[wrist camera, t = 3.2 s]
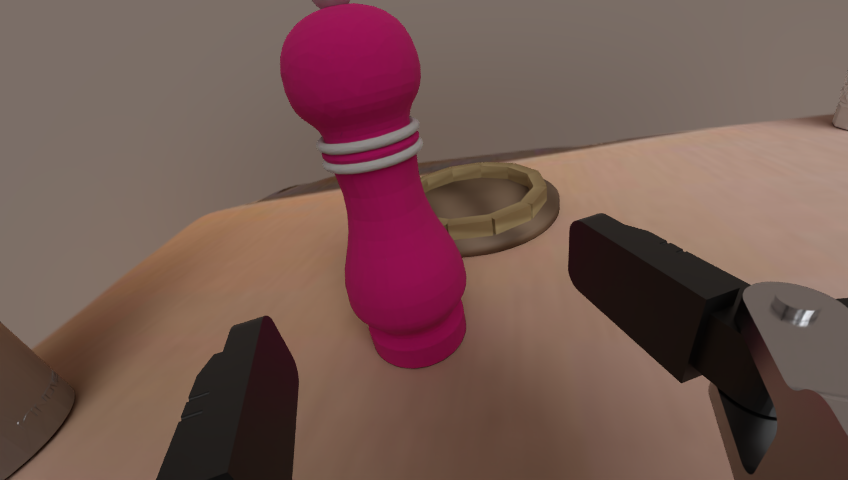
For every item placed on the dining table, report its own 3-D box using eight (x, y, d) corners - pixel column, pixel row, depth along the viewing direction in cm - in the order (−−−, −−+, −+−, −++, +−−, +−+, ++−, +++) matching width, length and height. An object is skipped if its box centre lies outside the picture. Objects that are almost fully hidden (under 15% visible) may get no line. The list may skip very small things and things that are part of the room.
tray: (433, 283, 27) (427, 257, 26) (368, 210, 42) (363, 192, 41) (601, 208, 32) (603, 183, 31) (491, 167, 47) (489, 149, 46)
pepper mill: (400, 289, 27) (316, -16, 17) (488, 304, 24) (444, -62, 14) (346, 359, 22) (180, -20, 12) (448, 392, 19) (333, -95, 9)
